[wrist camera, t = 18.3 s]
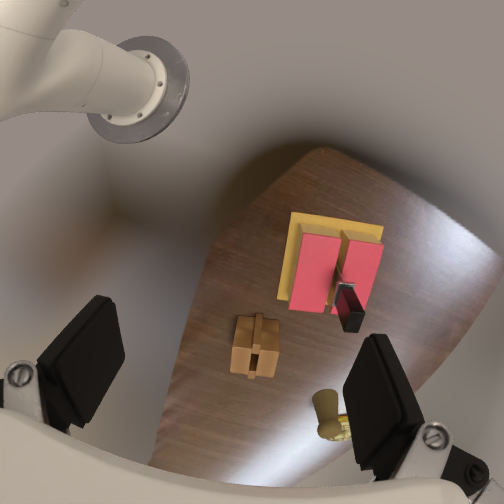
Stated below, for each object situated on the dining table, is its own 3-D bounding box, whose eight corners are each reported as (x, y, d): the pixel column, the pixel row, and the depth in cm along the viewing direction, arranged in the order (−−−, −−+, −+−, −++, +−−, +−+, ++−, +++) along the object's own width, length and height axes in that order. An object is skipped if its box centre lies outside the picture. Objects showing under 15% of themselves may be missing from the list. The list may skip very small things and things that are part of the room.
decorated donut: (321, 436, 63) (322, 446, 60) (320, 416, 59) (322, 428, 56) (357, 429, 62) (360, 439, 58) (361, 409, 58) (363, 420, 55)
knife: (321, 274, 44) (340, 334, 30) (325, 253, 43) (349, 308, 28) (335, 275, 44) (359, 335, 30) (340, 255, 43) (369, 310, 28)
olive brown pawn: (336, 386, 55) (343, 425, 45) (339, 401, 57) (345, 438, 47) (310, 392, 56) (313, 432, 46) (314, 406, 58) (318, 444, 48)
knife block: (235, 344, 51) (229, 376, 44) (238, 310, 48) (232, 341, 40) (272, 349, 51) (272, 381, 43) (279, 315, 48) (280, 347, 40)
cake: (276, 298, 47) (277, 316, 42) (291, 211, 41) (294, 221, 36) (359, 306, 47) (367, 324, 42) (382, 226, 41) (395, 237, 36)
